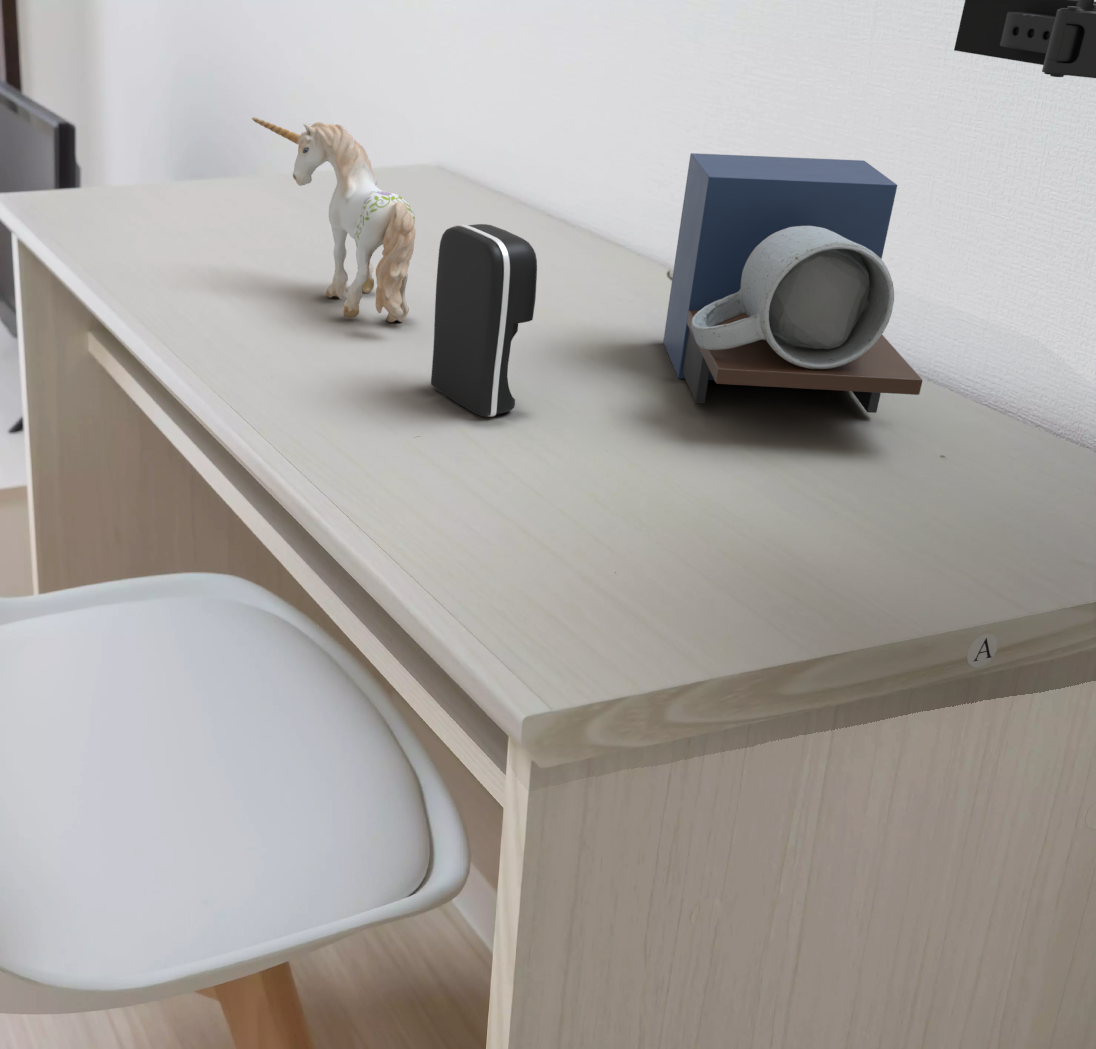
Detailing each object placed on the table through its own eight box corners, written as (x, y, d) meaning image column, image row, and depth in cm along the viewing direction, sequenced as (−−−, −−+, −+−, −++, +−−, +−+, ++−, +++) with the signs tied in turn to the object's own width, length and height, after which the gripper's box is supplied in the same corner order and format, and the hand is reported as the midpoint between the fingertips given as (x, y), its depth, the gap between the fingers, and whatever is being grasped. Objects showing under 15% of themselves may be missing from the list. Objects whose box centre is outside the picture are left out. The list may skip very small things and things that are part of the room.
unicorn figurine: (320, 268, 117) (324, 110, 111) (464, 328, 103) (478, 150, 97) (250, 279, 114) (250, 116, 108) (390, 343, 99) (399, 160, 93)
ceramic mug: (837, 329, 88) (859, 212, 85) (882, 371, 81) (908, 245, 78) (675, 327, 88) (690, 210, 85) (705, 369, 81) (723, 243, 78)
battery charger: (532, 414, 87) (550, 239, 82) (482, 422, 86) (498, 245, 81) (474, 379, 93) (487, 214, 88) (426, 387, 91) (437, 219, 86)
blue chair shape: (826, 351, 100) (864, 160, 94) (905, 456, 82) (959, 229, 76) (662, 342, 101) (690, 153, 95) (705, 444, 83) (743, 220, 77)
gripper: (1309, 211, 45) (854, 107, 62) (1728, 168, 53) (1225, 88, 71) (1395, -33, 41) (889, -69, 59) (1827, -36, 50) (1274, -67, 68)
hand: (1072, 17), depth 65 cm, fingers open, 13 cm apart
